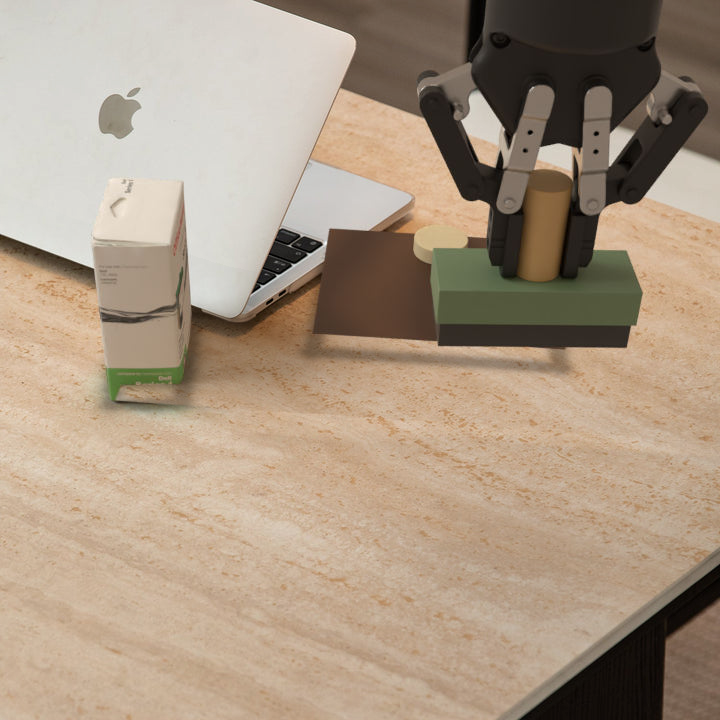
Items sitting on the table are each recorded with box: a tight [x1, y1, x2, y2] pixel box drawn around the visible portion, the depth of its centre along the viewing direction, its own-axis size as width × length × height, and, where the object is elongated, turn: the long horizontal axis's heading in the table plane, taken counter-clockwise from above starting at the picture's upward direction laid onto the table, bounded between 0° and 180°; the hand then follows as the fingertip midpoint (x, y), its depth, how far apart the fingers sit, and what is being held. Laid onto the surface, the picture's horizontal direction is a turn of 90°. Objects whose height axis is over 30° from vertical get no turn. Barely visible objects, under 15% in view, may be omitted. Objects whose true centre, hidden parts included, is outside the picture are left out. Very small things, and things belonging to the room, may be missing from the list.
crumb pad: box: [413, 224, 469, 264], centre depth 92 cm, size 4×4×1 cm
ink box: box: [90, 176, 193, 402], centre depth 79 cm, size 9×5×12 cm, turn 1°
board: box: [312, 227, 566, 350], centre depth 89 cm, size 17×14×2 cm
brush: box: [430, 168, 644, 349], centre depth 61 cm, size 10×4×8 cm, turn 92°
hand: (536, 268), depth 62 cm, fingers closed on brush, 2 cm apart
